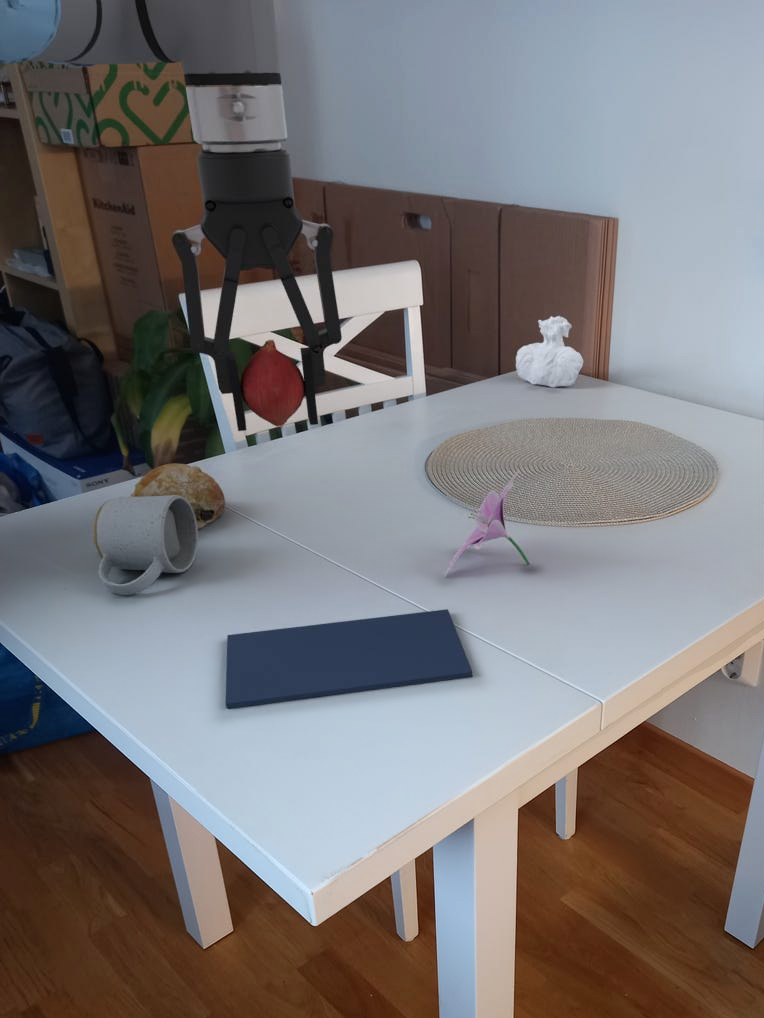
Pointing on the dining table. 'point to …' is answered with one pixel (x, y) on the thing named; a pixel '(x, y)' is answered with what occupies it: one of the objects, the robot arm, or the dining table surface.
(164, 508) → the ceramic mug
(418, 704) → the dining table surface
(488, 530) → the lily
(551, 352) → the bust
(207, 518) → the bread roll
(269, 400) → the onion
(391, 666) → the board
